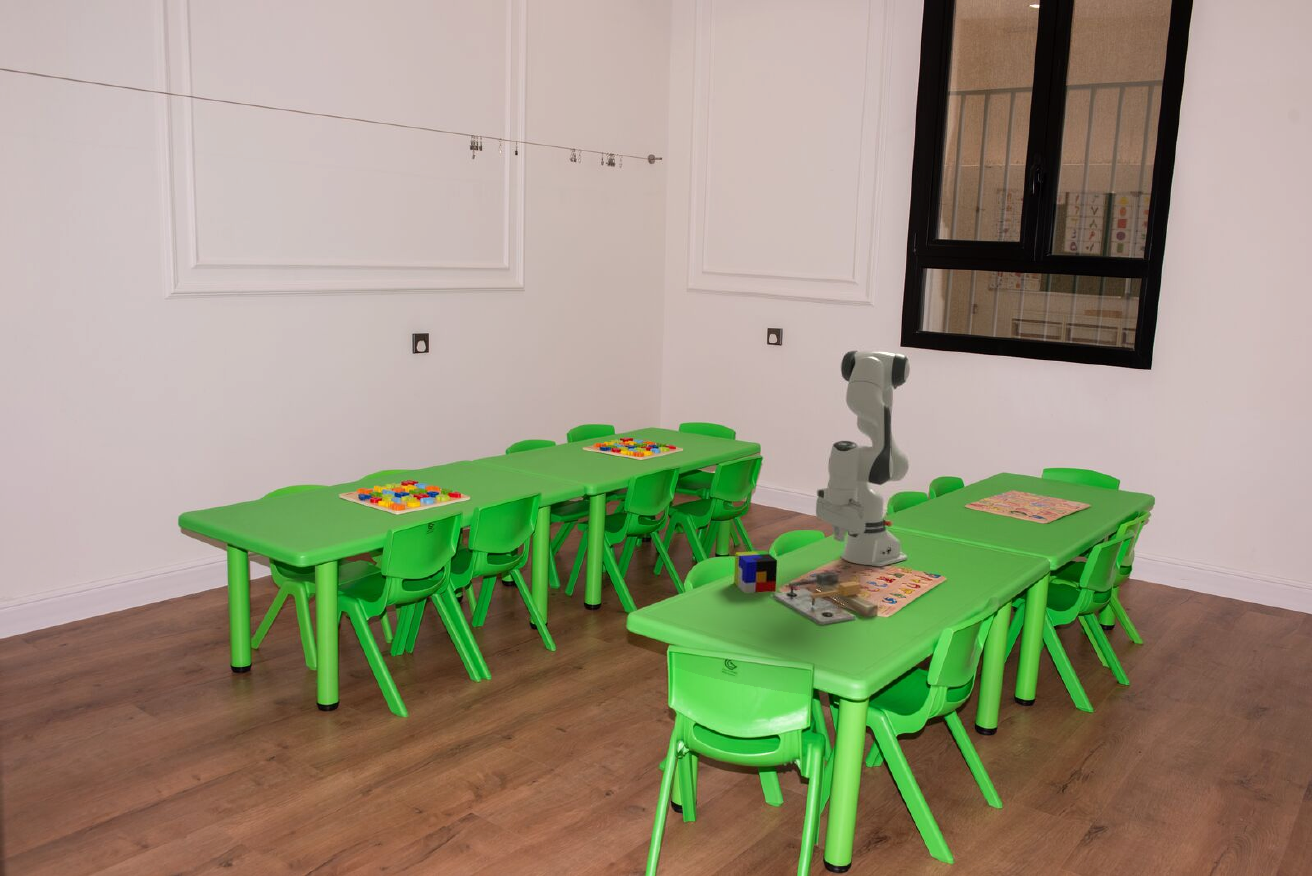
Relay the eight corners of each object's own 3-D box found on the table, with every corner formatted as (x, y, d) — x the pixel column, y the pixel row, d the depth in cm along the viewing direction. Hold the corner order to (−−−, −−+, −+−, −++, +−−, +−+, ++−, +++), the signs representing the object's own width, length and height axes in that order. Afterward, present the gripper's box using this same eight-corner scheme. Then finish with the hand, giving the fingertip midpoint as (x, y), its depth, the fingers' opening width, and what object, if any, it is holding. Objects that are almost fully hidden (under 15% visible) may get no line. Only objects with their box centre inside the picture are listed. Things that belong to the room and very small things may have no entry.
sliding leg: (853, 595, 315) (854, 581, 314) (860, 599, 312) (861, 584, 311) (807, 603, 307) (808, 588, 306) (813, 607, 304) (814, 591, 303)
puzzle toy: (745, 593, 319) (746, 562, 317) (734, 583, 328) (735, 552, 326) (775, 591, 322) (777, 560, 320) (763, 581, 331) (765, 550, 329)
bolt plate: (805, 591, 322) (805, 588, 321) (855, 619, 300) (855, 615, 300) (772, 597, 316) (772, 593, 316) (821, 625, 295) (821, 621, 294)
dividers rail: (828, 588, 326) (829, 569, 325) (880, 614, 304) (881, 595, 303) (783, 595, 318) (784, 576, 317) (832, 623, 296) (833, 603, 295)
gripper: (872, 503, 304) (869, 548, 307) (830, 487, 322) (827, 530, 324) (854, 505, 301) (851, 551, 304) (813, 489, 319) (810, 532, 322)
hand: (838, 540), depth 314 cm, fingers closed
